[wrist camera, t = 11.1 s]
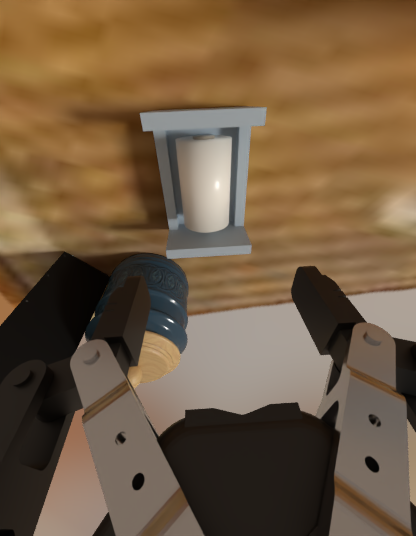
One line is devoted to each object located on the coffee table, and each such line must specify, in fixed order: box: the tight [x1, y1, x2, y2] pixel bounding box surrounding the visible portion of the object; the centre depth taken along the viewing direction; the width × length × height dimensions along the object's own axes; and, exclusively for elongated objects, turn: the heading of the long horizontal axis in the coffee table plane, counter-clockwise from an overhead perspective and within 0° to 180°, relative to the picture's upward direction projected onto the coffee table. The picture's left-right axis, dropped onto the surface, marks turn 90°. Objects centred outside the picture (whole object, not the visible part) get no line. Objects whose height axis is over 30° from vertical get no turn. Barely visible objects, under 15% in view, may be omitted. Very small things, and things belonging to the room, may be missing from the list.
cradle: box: [140, 106, 267, 259], centre depth 24 cm, size 10×14×8 cm
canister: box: [85, 253, 188, 388], centre depth 30 cm, size 13×13×18 cm
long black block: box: [0, 252, 110, 384], centre depth 24 cm, size 8×8×28 cm
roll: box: [175, 135, 232, 233], centre depth 24 cm, size 9×6×6 cm
